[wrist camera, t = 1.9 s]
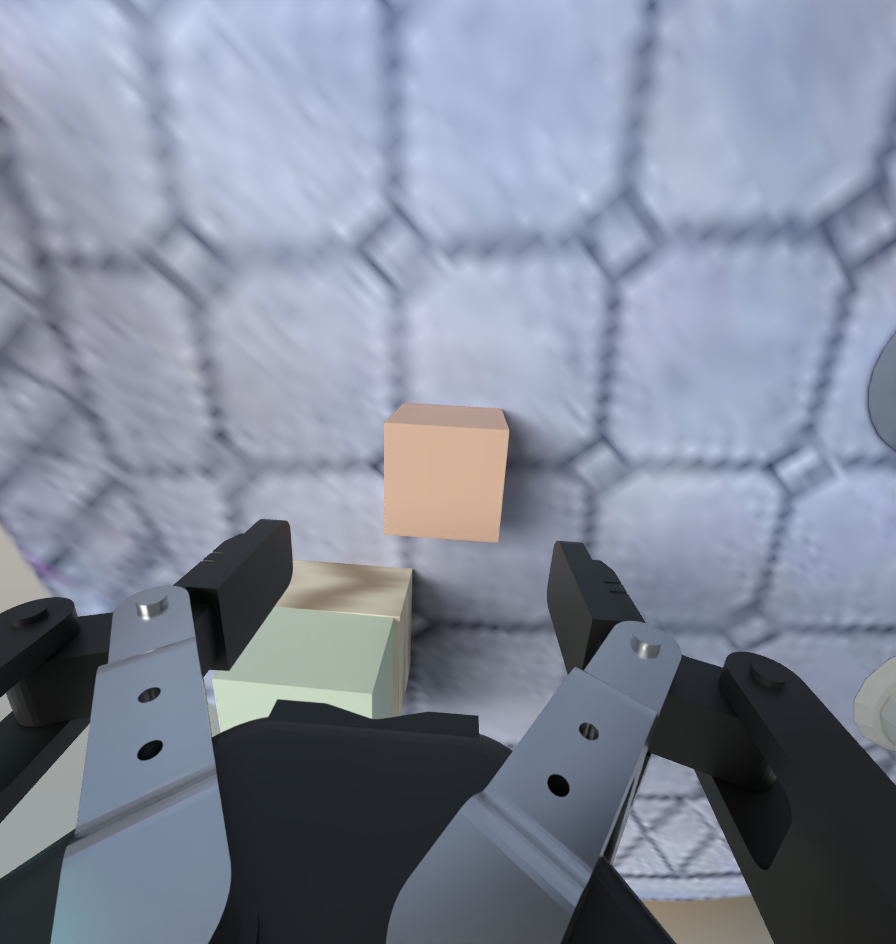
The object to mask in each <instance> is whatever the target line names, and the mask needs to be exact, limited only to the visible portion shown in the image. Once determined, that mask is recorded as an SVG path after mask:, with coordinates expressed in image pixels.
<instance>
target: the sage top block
mask: <svg viewBox="0 0 896 944" xmlns="http://www.w3.org/2000/svg"><path fill="white" fill-rule="evenodd" d="M393 628H394V617H383V616H372V615H361V614H350V613H339V612H328V611H317V610H306V609H295V608H284V607H274V608H273V610H272V611H271V612H270V614H269V615H268V617H267V618H266V620H265V621H264V622H263V624H262V625H261V627H260V628H259V629H258V631H257V632H256V634H255V635H254V637H253V638H252V639H251V641H250V642H249V644H248V645H247V647H246V648H245V649H244V651H243V652H242V654H241V655H240V657H239V658H238V659H237V661H236V662H235V664H234V665H233V667H232V668H231V669H230V671H221V670H218V671H217V673H216V674H215V675H214V676H213V678H212V682H213V688H214V694H215V701H216V707H217V713H218V719H219V725H220V732H223V731H225V730H227V729H230V728H232V727H234V726H236V725H239V724H242V723H245V722H248V721H251V720H255V719H259V718H264V717H268V716H269V714H270V713H271V711H272V709H273V707H274V705H275V703H276V701H277V699H281V700H293V701H305V702H317V703H327V704H330V705H333V706H336V707H339V708H342V709H344V710H347V711H350V712H353V713H356V714H359V715H362V716H365V717H368V718H371V719H383V718H390V717H391V716H392V679H393Z"/></svg>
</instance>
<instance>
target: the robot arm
mask: <svg viewBox="0 0 896 944" xmlns="http://www.w3.org/2000/svg"><path fill="white" fill-rule="evenodd" d="M869 409H870V414H871V418H872V422H873V424H874V426H875V428H876V430H877V432H878V433H879V435H880V437H881V438H882V439H883V440H884V441H885V442H886V443H887V444H888V445H889V446H890V447H892V448H894V449H896V333H895V334H894V335H893V337H892V338H891V340H890V341H889V342H888V344H887V345H886V347H885V348H884V350H883V352H882V354H881V356H880V358H879V360H878V362H877V364H876V366H875V368H874V372H873V376H872V380H871V383H870V387H869ZM292 574H293V559H292V545H291V532H290V525H289V523H288V522H287V521H283V520H270V519H260V520H259V521H257V522H256V523H255V524H254V525H253V526H252V527H251V528H250V529H249V530H248V531H246V532H245V533H244V534H239V535H237V536H235V537H233V538H230V539H228V540H226V541H224V542H223V543H222V544H221V545H219V546H218V547H217V548H216V549H215V550H214V551H213V553H210V554H209V555H208V556H207V557H206V558H204V559H203V562H200V563H199V564H197V565H196V566H195V567H194V568H193V569H192V570H190V571H189V572H188V573H187V574H186V575H185V576H183V577H182V578H181V579H180V580H179V581H178V582H177V583H175V584H174V585H173V586H159V587H154V588H150V589H146V590H143V591H140V592H138V593H136V594H134V595H132V596H130V597H128V598H126V599H125V600H123V601H122V602H121V603H120V604H119V605H118V606H117V607H116V608H115V610H114V612H113V613H105V614H97V615H89V616H80V617H78V616H77V613H76V609H75V606H74V602H73V601H72V600H70V599H67V598H61V597H52V598H44V599H38V600H34V601H30V602H27V603H24V604H21V605H18V606H16V607H13V608H11V609H9V610H7V611H4V612H3V613H1V614H0V697H2V696H3V695H4V694H5V693H6V695H7V697H8V700H9V702H10V705H11V708H12V710H13V711H12V712H11V713H10V714H9V715H8V716H6V717H5V718H4V719H3V720H2V721H1V722H0V823H1V822H2V821H3V820H4V819H5V817H6V816H7V815H8V814H9V813H10V812H11V811H12V809H13V808H14V807H15V806H16V805H17V804H18V803H19V801H21V800H22V798H23V797H24V796H25V795H26V794H27V793H28V792H29V791H30V789H31V788H32V787H33V786H34V785H35V784H36V783H37V781H39V779H40V778H41V777H42V776H43V775H44V774H45V773H46V772H47V770H48V769H49V768H50V767H51V766H52V765H53V764H54V763H55V761H56V760H57V759H58V758H59V757H60V756H61V755H62V754H63V753H64V751H65V750H66V749H67V748H68V747H69V746H70V745H71V744H72V742H73V741H74V740H75V739H76V738H77V737H78V735H80V734H81V732H82V731H83V730H84V729H85V728H86V727H87V726H88V724H89V723H90V727H89V734H88V742H87V749H86V757H85V765H84V772H83V780H82V788H81V796H80V803H79V811H78V818H77V825H76V828H75V829H74V830H73V831H71V832H69V833H68V834H66V835H65V836H63V837H62V838H60V839H59V840H58V841H56V842H55V843H53V844H52V845H50V846H49V847H47V848H46V849H44V850H43V851H41V852H40V853H38V854H37V855H35V856H34V857H32V858H31V859H29V860H28V861H26V862H25V863H23V864H22V865H20V866H19V867H17V868H16V869H14V870H13V871H11V872H10V873H9V874H7V875H5V876H4V877H2V878H1V879H0V944H676V943H675V941H674V940H673V939H672V938H671V936H670V935H669V934H668V933H667V932H666V931H665V929H664V928H663V927H662V926H661V924H660V923H659V922H658V921H657V919H656V918H655V917H654V916H653V915H652V913H651V912H650V911H649V910H648V909H647V907H646V906H645V905H644V904H643V902H642V901H641V900H640V899H639V898H638V896H637V895H636V894H635V893H634V891H633V890H632V889H631V888H630V887H629V885H628V884H627V883H626V882H625V881H624V879H623V878H622V877H621V876H620V874H619V873H618V872H617V871H616V870H615V868H614V867H613V866H612V864H613V861H614V858H615V855H616V852H617V849H618V847H619V843H620V840H621V837H622V834H623V832H624V829H625V826H626V823H627V820H628V818H629V815H630V812H631V810H632V807H633V804H634V802H635V799H636V796H637V794H638V791H639V788H640V786H641V783H642V780H643V778H644V775H645V772H646V770H647V767H648V764H649V762H650V759H651V756H652V754H655V755H658V756H660V757H663V758H666V759H668V760H671V761H674V762H676V763H679V764H682V765H684V766H687V767H690V768H692V769H694V770H695V772H696V774H697V777H698V779H699V781H700V783H701V785H702V788H703V790H704V792H705V794H706V796H707V798H708V801H709V803H710V805H711V807H712V809H713V811H714V814H715V816H716V818H717V820H718V822H719V824H720V827H721V829H722V831H723V833H724V835H725V838H726V840H727V842H728V844H729V846H730V848H731V851H732V853H733V855H734V857H735V859H736V861H737V864H738V866H739V868H740V870H741V872H742V875H743V877H744V879H745V881H746V883H747V885H748V888H749V890H750V892H751V894H752V896H753V898H754V901H755V903H756V905H757V907H758V909H759V911H760V914H761V916H762V918H763V920H764V922H765V925H766V927H767V929H768V931H769V933H770V935H771V938H772V940H773V942H774V944H896V785H895V784H894V783H893V782H892V781H891V780H890V778H889V777H888V776H887V775H886V774H885V773H884V772H883V771H882V769H881V768H880V767H879V766H878V765H877V764H876V763H875V762H874V760H873V759H872V758H871V757H870V756H869V755H868V754H867V753H866V751H865V750H864V749H863V748H862V747H861V746H860V745H859V744H858V742H857V741H856V740H855V739H854V738H853V737H852V736H851V735H850V733H849V732H848V731H847V730H846V729H845V728H844V727H843V726H842V724H841V723H840V722H839V721H838V720H837V719H836V718H835V717H834V715H833V714H832V713H831V712H830V711H829V710H828V709H827V708H826V706H825V705H824V704H823V703H822V702H821V701H820V700H819V699H818V697H817V696H816V695H815V694H814V693H813V692H812V691H811V690H810V688H809V687H808V686H807V685H806V684H805V683H804V682H803V681H802V680H801V679H800V678H799V677H798V676H797V675H796V674H795V673H793V672H792V671H791V670H789V669H788V668H786V667H785V666H783V665H781V664H780V663H778V662H776V661H774V660H771V659H769V658H767V657H764V656H761V655H758V654H754V653H750V652H734V653H731V654H729V655H728V656H727V658H726V661H725V663H724V666H723V668H722V667H719V666H716V665H712V664H709V663H705V662H702V661H699V660H695V659H692V658H689V657H686V656H684V655H682V652H681V649H680V647H679V645H678V644H677V643H676V641H675V640H674V639H673V638H672V637H671V636H669V635H668V634H667V633H665V632H664V631H662V630H660V629H659V628H657V627H655V626H652V625H649V624H646V623H645V621H644V619H643V618H642V616H641V615H640V613H639V611H638V610H637V608H636V606H635V605H634V603H633V601H632V600H631V598H630V597H629V595H628V594H627V592H626V590H625V588H624V587H623V585H621V582H620V580H619V579H618V577H617V575H616V574H615V572H614V571H613V570H612V569H611V568H609V567H608V566H607V565H606V564H604V563H603V562H602V561H599V560H592V559H591V557H590V555H589V553H588V551H587V549H586V548H585V546H584V544H583V543H579V542H566V541H556V543H555V545H554V549H553V555H552V562H551V568H550V574H549V580H548V587H547V603H548V608H549V612H550V615H551V619H552V622H553V625H554V629H555V632H556V636H557V639H558V643H559V646H560V649H561V653H562V656H563V660H564V663H565V666H566V670H567V673H568V676H567V678H566V679H565V680H564V682H563V683H562V684H561V686H560V687H559V688H558V690H557V691H556V693H555V694H554V695H553V697H552V698H551V699H550V701H549V702H548V704H547V705H546V706H545V708H544V709H543V710H542V712H541V713H540V715H539V716H538V717H537V719H536V720H535V721H534V723H533V724H532V726H531V727H530V728H529V730H528V731H527V732H526V734H525V735H524V737H523V738H522V739H521V741H520V742H519V743H518V745H517V746H516V748H515V749H514V750H513V751H512V750H511V749H509V748H508V747H506V746H504V745H503V744H501V743H500V742H498V741H496V740H493V739H491V738H489V737H487V736H484V735H481V734H479V720H478V716H475V715H462V714H450V713H438V712H423V713H416V714H410V715H403V716H396V717H390V718H383V719H371V718H368V717H365V716H362V715H359V714H356V713H353V712H350V711H347V710H344V709H342V708H339V707H336V706H333V705H330V704H327V703H317V702H305V701H293V700H281V699H277V701H276V703H275V705H274V707H273V709H272V711H271V713H270V714H269V716H268V717H264V718H259V719H255V720H251V721H248V722H245V723H242V724H239V725H236V726H234V727H232V728H230V729H227V730H225V731H223V732H221V733H219V734H218V735H216V736H214V737H213V734H212V728H211V722H210V715H209V709H208V703H207V697H206V691H205V685H204V679H203V677H204V676H205V675H206V673H207V672H208V671H209V670H221V671H230V669H231V668H232V667H233V665H234V664H235V662H236V661H237V659H238V658H239V657H240V655H241V654H242V652H243V651H244V649H245V648H246V647H247V645H248V644H249V642H250V641H251V639H252V638H253V637H254V635H255V634H256V632H257V631H258V629H259V628H260V627H261V625H262V624H263V622H264V621H265V620H266V618H267V617H268V615H269V614H270V612H271V611H272V610H273V608H274V607H275V605H276V604H277V602H278V601H279V600H280V598H281V597H282V595H283V594H284V592H285V591H286V590H287V588H288V587H289V584H290V582H291V579H292Z"/></svg>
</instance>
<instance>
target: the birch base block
mask: <svg viewBox="0 0 896 944" xmlns="http://www.w3.org/2000/svg"><path fill="white" fill-rule="evenodd" d="M412 570H413V569H409V568H395V567H382V566H368V565H355V564H341V563H328V562H314V561H301V560H293V574H292V579H291V582H290V584H289V587H288V588H287V590H286V591H285V592H284V594H283V595H282V597H281V598H280V600H279V601H278V602H277V604H276V605H275V607H284V608H295V609H306V610H317V611H328V612H339V613H350V614H361V615H372V616H383V617H394V628H393V679H392V716H391V717H396V716H401V713H402V708H403V702H404V697H405V692H406V687H407V682H408V676H409V671H410V663H411V616H412Z"/></svg>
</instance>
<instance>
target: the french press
mask: <svg viewBox="0 0 896 944" xmlns="http://www.w3.org/2000/svg"><path fill="white" fill-rule="evenodd" d="M854 722H855V724H856V725H857V727H858V728H859V730H860V731H861V733H862V734H863V736H864V737H865V738H866V739H868V740H870V741H871V742H873V743H875V744H877V745H879V746H881V747H883V748H885V749H888V750H892V751H896V656H895V657H893V658H890V659H889V660H888V661H887V662H885V663H884V664H883V665H882V666H881V667H879V668H878V669H877V670H876V671H875V672H873V673H872V674H871V675H870V676H869V677H868V678H866V680H865V682H864V684H863V685H862V687H861V689H860V691H859V692H858V694H857V696H856V698H855V700H854Z"/></svg>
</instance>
